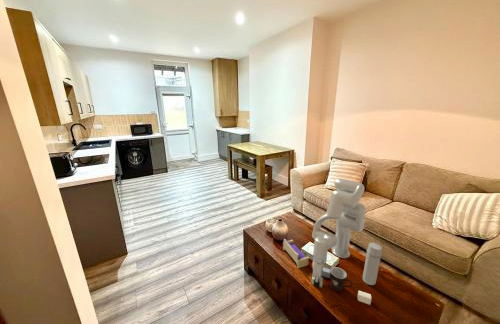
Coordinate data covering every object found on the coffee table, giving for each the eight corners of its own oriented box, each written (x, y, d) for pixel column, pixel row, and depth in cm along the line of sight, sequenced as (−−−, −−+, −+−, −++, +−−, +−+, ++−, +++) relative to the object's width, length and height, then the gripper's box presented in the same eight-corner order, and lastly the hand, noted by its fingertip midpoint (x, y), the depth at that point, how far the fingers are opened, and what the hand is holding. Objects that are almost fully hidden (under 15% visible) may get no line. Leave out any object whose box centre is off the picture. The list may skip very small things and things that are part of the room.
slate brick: (319, 275, 129) (319, 269, 128) (319, 271, 132) (320, 266, 131) (329, 278, 126) (329, 273, 125) (329, 274, 129) (330, 269, 128)
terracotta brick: (312, 266, 136) (312, 261, 135) (317, 266, 136) (317, 261, 135) (313, 272, 131) (313, 267, 130) (318, 273, 130) (319, 268, 129)
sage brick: (311, 284, 122) (311, 278, 121) (312, 280, 125) (312, 274, 124) (321, 287, 119) (322, 281, 118) (322, 283, 122) (322, 277, 121)
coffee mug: (325, 283, 123) (327, 269, 120) (336, 279, 126) (338, 265, 123) (340, 299, 112) (342, 284, 110) (352, 294, 115) (354, 280, 113)
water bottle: (374, 288, 119) (381, 252, 113) (360, 281, 124) (366, 245, 118) (378, 279, 126) (385, 244, 119) (364, 272, 131) (370, 239, 125)
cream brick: (357, 300, 112) (358, 294, 111) (357, 296, 114) (358, 290, 113) (370, 305, 109) (371, 299, 108) (369, 300, 112) (370, 294, 111)
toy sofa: (309, 266, 136) (310, 253, 134) (298, 269, 133) (299, 256, 131) (292, 247, 155) (292, 235, 153) (282, 249, 152) (282, 237, 150)
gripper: (315, 247, 126) (312, 272, 131) (310, 264, 112) (308, 291, 116) (327, 250, 123) (324, 276, 128) (325, 269, 109) (321, 296, 113)
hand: (316, 283), depth 122 cm, fingers closed on sage brick, 2 cm apart
